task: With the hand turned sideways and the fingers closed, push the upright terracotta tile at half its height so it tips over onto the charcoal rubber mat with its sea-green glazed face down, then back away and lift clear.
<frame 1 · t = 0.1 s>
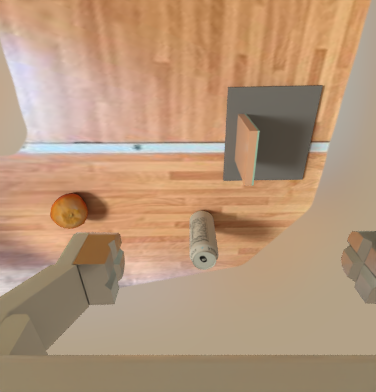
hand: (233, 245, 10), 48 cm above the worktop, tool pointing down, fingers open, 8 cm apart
fruit: (75, 203, 65), on the worktop
tile: (240, 138, 56), point 1 cm above the worktop, touching mat
energy drink can: (201, 218, 67), on the worktop
mat: (267, 136, 57), on the worktop
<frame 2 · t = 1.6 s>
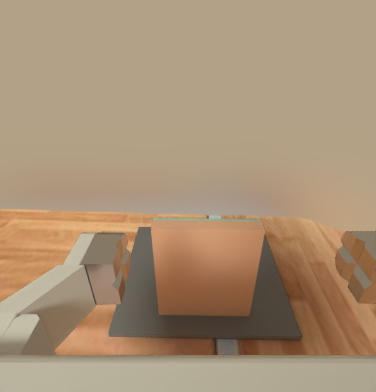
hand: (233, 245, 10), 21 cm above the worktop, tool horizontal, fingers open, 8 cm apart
tile: (203, 309, 30), point 1 cm above the worktop, touching mat
mat: (202, 272, 36), on the worktop
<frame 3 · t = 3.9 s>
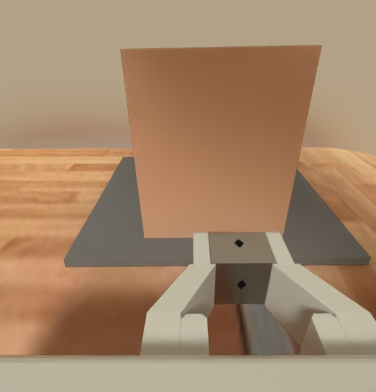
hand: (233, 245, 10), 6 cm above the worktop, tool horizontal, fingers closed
tile: (212, 230, 20), point 1 cm above the worktop, touching mat
mat: (207, 197, 25), on the worktop
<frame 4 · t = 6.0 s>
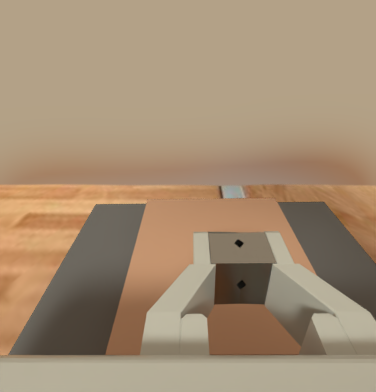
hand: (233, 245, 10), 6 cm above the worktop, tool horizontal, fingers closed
tile: (230, 365, 11), point 1 cm above the worktop, tilted 90°, touching mat
mat: (218, 290, 16), on the worktop
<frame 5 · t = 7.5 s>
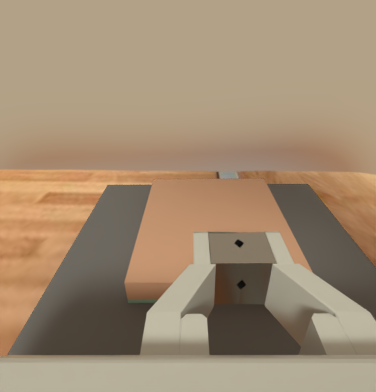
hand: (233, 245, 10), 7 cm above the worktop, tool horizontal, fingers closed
tile: (219, 293, 14), point 1 cm above the worktop, tilted 90°, touching mat
mat: (212, 250, 19), on the worktop
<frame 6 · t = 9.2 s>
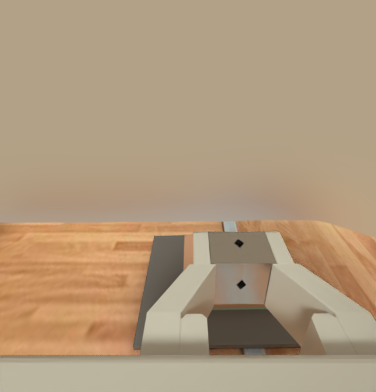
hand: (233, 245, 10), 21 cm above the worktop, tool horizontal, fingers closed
tile: (226, 305, 30), point 1 cm above the worktop, tilted 90°, touching mat
mat: (222, 280, 35), on the worktop
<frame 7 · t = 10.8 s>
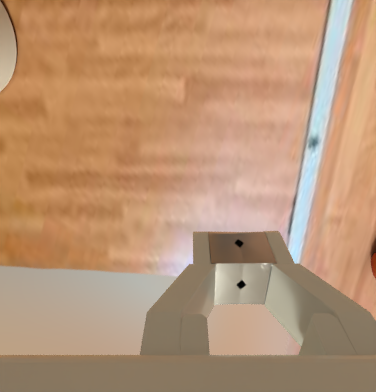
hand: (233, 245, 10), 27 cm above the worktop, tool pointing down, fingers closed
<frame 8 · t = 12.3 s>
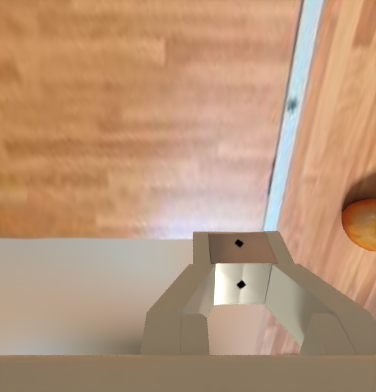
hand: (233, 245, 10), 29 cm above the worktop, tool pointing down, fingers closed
fruit: (359, 210, 44), on the worktop
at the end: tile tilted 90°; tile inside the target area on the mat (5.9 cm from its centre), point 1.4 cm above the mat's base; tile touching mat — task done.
